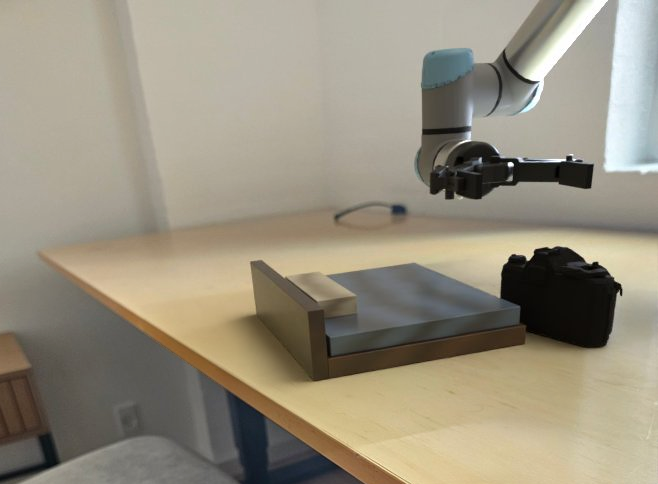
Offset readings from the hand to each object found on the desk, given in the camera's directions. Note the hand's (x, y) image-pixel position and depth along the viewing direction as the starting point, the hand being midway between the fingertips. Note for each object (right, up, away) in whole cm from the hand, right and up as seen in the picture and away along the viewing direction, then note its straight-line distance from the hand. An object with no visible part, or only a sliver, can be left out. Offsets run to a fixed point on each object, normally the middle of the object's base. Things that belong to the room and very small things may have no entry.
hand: (535, 181), depth 76 cm
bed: (-18, -16, +3) cm, 24 cm away
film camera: (+3, -17, -2) cm, 18 cm away
